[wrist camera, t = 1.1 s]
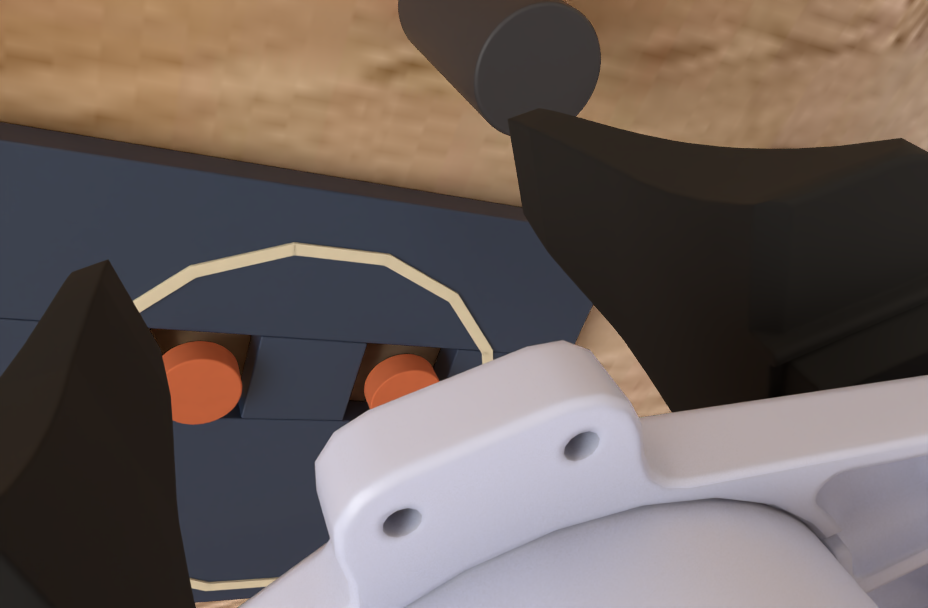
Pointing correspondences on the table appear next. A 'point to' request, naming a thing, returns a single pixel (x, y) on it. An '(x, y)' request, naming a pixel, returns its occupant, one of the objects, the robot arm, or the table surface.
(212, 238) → the face board
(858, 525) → the robot arm
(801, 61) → the table surface
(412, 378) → the eye
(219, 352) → the eye
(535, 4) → the marker
